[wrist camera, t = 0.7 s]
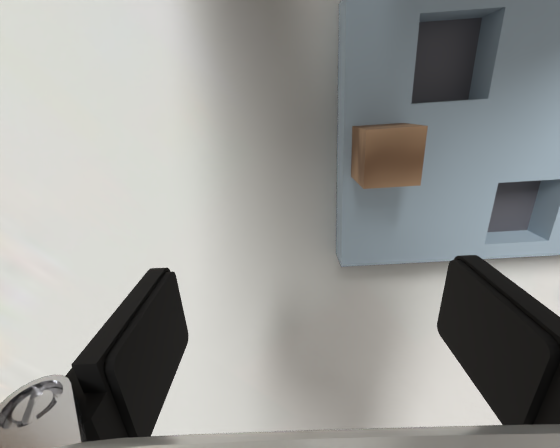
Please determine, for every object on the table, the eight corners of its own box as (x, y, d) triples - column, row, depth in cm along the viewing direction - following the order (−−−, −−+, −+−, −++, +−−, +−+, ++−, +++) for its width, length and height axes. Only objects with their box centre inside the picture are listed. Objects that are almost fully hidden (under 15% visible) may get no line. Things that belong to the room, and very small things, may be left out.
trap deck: (338, 4, 25) (354, -23, 19) (677, -22, 24) (785, -57, 19) (336, 253, 34) (346, 279, 28) (582, 240, 33) (637, 264, 28)
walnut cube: (352, 126, 25) (366, 129, 21) (403, 122, 25) (427, 125, 21) (350, 176, 27) (363, 188, 23) (399, 173, 27) (420, 185, 23)
